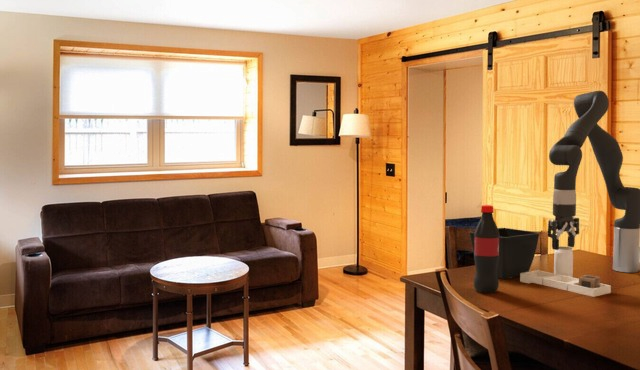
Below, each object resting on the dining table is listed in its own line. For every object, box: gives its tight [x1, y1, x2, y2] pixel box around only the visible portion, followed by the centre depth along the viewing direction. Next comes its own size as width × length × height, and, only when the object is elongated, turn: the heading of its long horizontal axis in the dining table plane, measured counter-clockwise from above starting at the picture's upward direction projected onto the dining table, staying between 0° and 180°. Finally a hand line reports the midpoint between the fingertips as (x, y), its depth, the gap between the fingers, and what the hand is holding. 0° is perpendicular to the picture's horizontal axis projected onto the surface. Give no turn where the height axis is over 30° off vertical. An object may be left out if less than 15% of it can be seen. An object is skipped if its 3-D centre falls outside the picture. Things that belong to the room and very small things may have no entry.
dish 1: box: [519, 269, 559, 286], centre depth 225 cm, size 10×10×3 cm
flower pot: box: [469, 227, 540, 280], centre depth 238 cm, size 19×19×17 cm
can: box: [553, 246, 574, 278], centre depth 229 cm, size 6×6×12 cm
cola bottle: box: [473, 204, 500, 294], centre depth 212 cm, size 8×8×30 cm
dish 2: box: [542, 275, 579, 291], centre depth 217 cm, size 10×10×3 cm
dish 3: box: [567, 282, 612, 297], centre depth 208 cm, size 10×10×3 cm
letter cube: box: [578, 274, 601, 289], centre depth 208 cm, size 5×5×5 cm
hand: (563, 248), depth 216 cm, fingers open, 8 cm apart
